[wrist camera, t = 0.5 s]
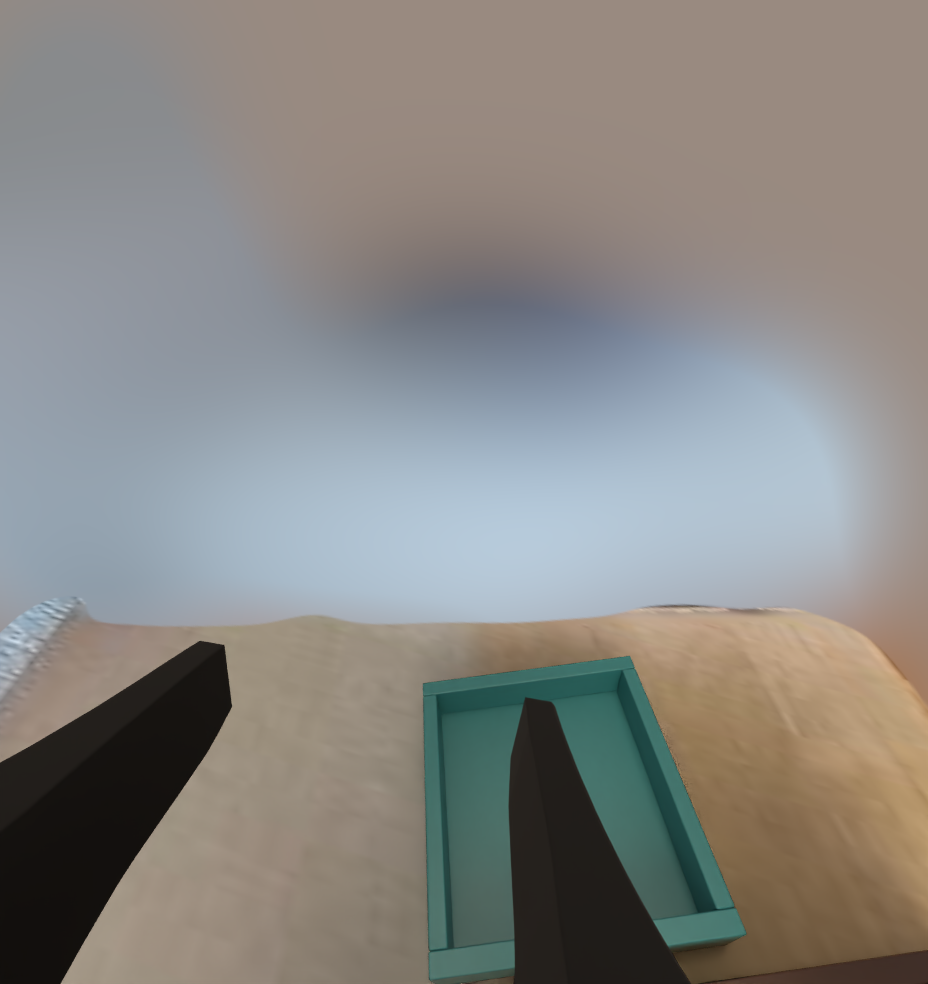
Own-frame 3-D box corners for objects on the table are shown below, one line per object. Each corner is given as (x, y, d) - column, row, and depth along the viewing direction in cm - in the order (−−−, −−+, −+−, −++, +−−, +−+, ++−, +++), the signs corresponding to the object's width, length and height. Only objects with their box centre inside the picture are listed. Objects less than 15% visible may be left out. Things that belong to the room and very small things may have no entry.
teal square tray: (726, 944, 19) (747, 934, 18) (438, 986, 19) (428, 980, 17) (623, 680, 29) (630, 655, 27) (429, 706, 29) (422, 682, 27)
